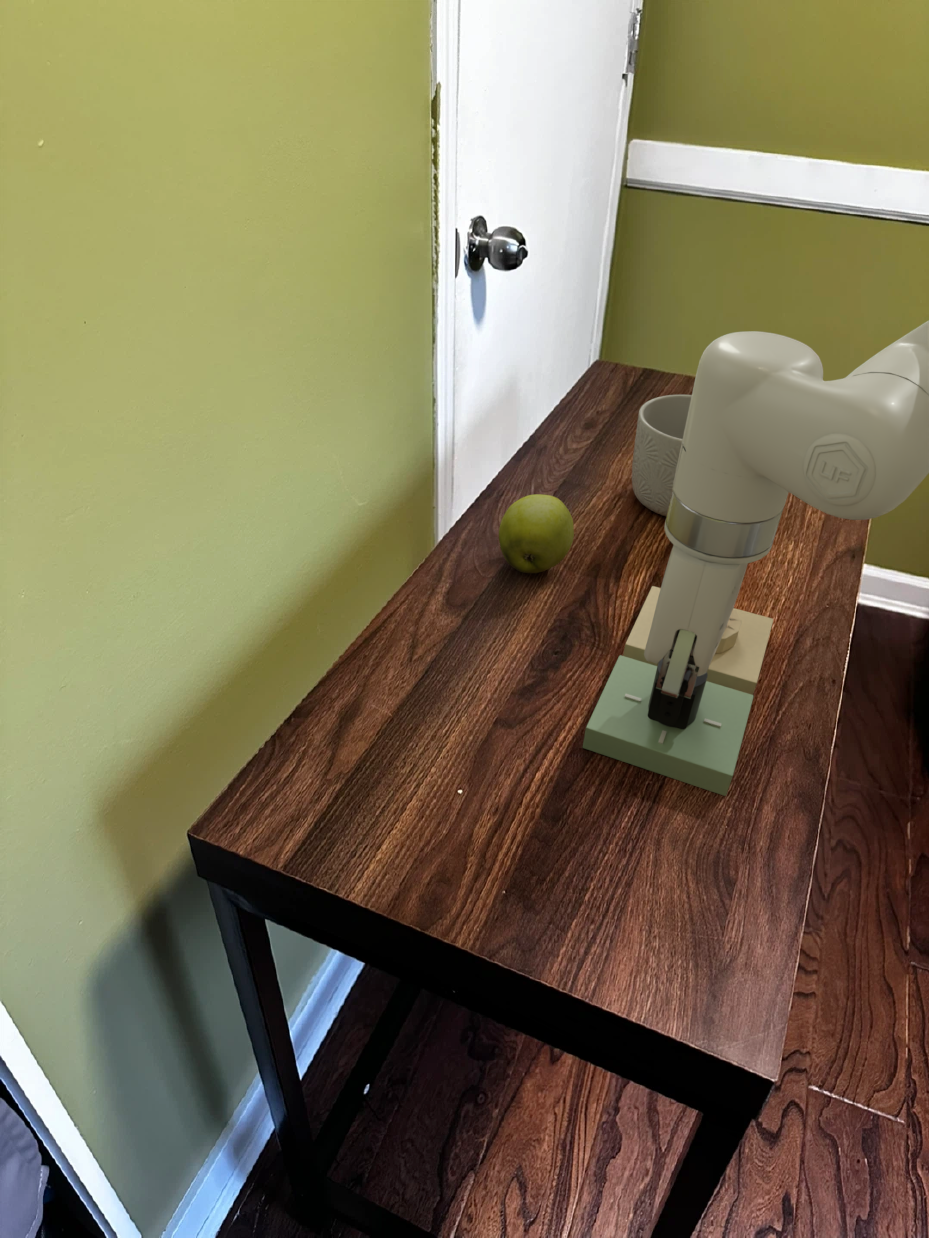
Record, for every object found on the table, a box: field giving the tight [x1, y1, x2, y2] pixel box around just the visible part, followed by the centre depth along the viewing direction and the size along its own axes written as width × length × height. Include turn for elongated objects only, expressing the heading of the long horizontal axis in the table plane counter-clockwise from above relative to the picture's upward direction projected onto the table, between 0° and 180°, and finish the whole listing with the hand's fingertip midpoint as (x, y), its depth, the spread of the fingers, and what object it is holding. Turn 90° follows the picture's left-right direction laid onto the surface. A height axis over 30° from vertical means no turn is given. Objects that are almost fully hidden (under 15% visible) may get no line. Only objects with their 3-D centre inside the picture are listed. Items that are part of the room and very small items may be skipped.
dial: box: [648, 658, 708, 728], centre depth 70 cm, size 4×4×5 cm
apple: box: [498, 493, 575, 574], centre depth 90 cm, size 8×9×8 cm
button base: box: [622, 585, 774, 695], centre depth 81 cm, size 12×10×4 cm
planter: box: [631, 394, 692, 517], centre depth 100 cm, size 12×12×11 cm
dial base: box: [582, 654, 755, 797], centre depth 73 cm, size 12×10×3 cm
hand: (674, 701), depth 71 cm, fingers closed on dial, 4 cm apart
